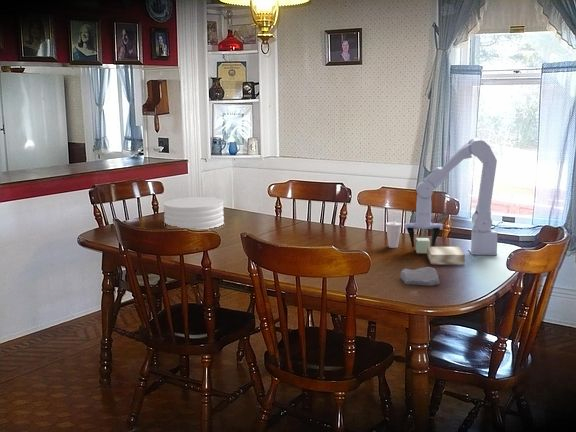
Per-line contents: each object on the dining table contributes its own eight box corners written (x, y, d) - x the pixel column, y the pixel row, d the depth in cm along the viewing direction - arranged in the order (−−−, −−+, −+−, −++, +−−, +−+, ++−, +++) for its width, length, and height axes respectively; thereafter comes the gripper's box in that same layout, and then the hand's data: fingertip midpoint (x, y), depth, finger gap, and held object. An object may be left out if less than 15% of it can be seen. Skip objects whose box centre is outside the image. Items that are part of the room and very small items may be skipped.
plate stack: (171, 219, 324) (170, 197, 322) (227, 219, 323) (226, 196, 320) (158, 232, 297) (157, 207, 294) (219, 232, 295) (218, 207, 293)
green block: (428, 250, 258) (428, 237, 257) (429, 253, 253) (430, 240, 252) (415, 250, 258) (415, 237, 257) (416, 253, 253) (417, 240, 252)
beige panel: (458, 256, 248) (459, 246, 248) (464, 265, 237) (464, 254, 236) (427, 256, 250) (427, 246, 249) (430, 265, 238) (431, 254, 237)
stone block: (441, 290, 214) (433, 276, 223) (442, 277, 212) (434, 263, 221) (405, 293, 214) (399, 278, 223) (406, 280, 212) (399, 265, 221)
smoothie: (389, 249, 259) (389, 215, 257) (382, 245, 265) (383, 212, 263) (403, 248, 261) (404, 213, 258) (397, 244, 267) (397, 210, 264)
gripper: (441, 210, 255) (440, 244, 258) (403, 210, 257) (403, 244, 260) (443, 214, 249) (442, 248, 251) (405, 214, 250) (404, 248, 253)
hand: (422, 246), depth 255 cm, fingers open, 7 cm apart
